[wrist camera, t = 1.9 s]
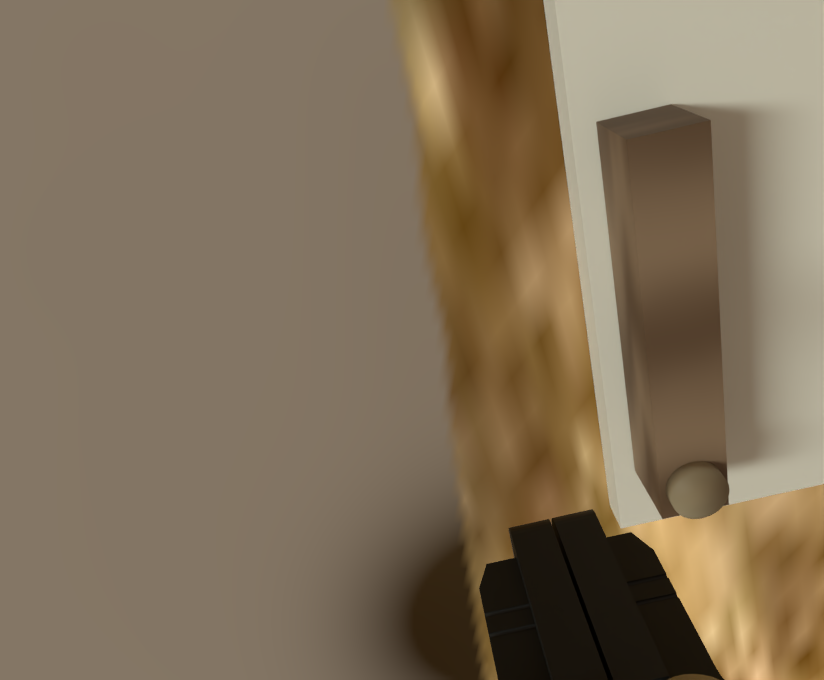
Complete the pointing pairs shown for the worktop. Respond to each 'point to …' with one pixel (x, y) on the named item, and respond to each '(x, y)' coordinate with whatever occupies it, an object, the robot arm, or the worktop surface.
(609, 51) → the stool seat
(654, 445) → the folding leg
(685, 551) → the worktop surface
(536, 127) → the worktop surface
